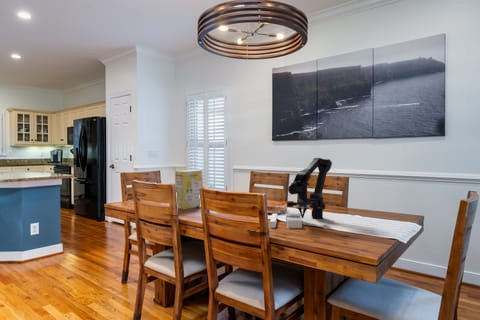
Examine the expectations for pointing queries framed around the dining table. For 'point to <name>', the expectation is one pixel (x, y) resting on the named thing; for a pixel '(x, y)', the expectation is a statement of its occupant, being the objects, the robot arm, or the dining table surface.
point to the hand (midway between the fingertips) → (302, 218)
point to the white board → (273, 221)
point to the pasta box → (188, 188)
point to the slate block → (292, 215)
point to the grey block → (294, 222)
